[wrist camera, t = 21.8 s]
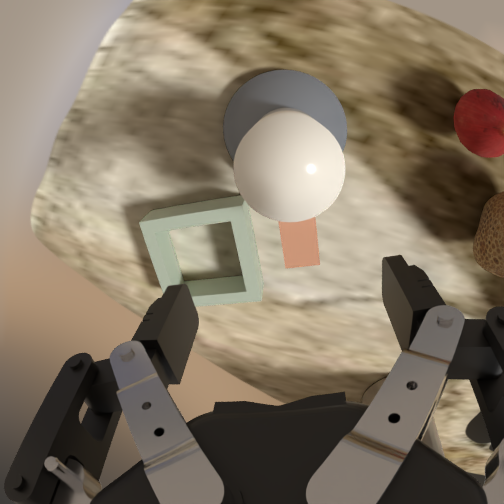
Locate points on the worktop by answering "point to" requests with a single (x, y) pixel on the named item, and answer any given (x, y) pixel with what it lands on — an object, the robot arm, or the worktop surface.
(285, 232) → the jug
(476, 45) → the worktop surface
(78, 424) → the robot arm
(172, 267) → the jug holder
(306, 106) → the coaster
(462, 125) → the onion
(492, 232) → the natural sponge
